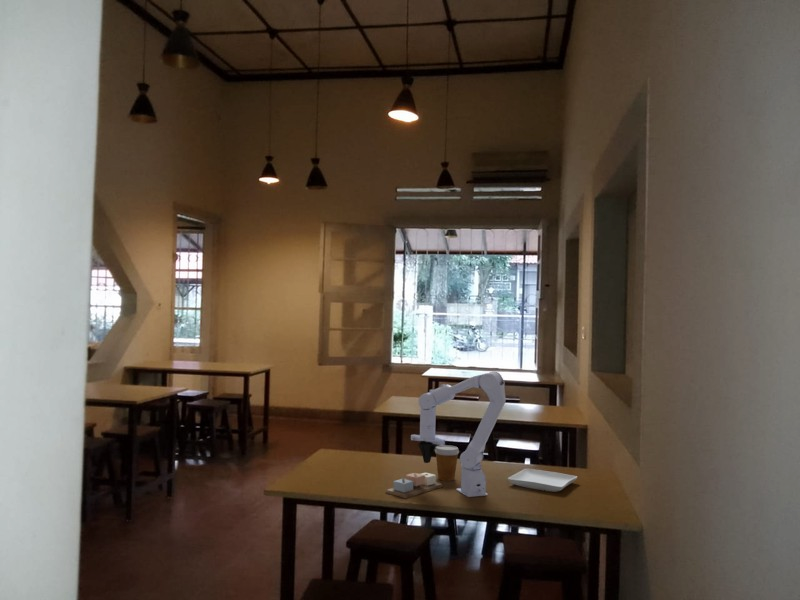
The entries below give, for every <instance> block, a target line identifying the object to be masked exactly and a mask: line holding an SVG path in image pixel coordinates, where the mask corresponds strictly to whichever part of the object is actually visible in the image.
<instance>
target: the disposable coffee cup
mask: <svg viewBox="0 0 800 600" xmlns="http://www.w3.org/2000/svg"><path fill="white" fill-rule="evenodd" d="M434 452H435V457H436V459H435V460H436V470H437V471H436V472H437V479H439V480H440V481H447V482H449V481H453V480H455V476H456V469H457V462H458V455H459V453H460V450H459V448H458V447H457V446H456V445H455V446H454V445H450V444H449V445H447V444H445V445H443V446H440V445H437V446H436V447H435V449H434Z"/></svg>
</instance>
